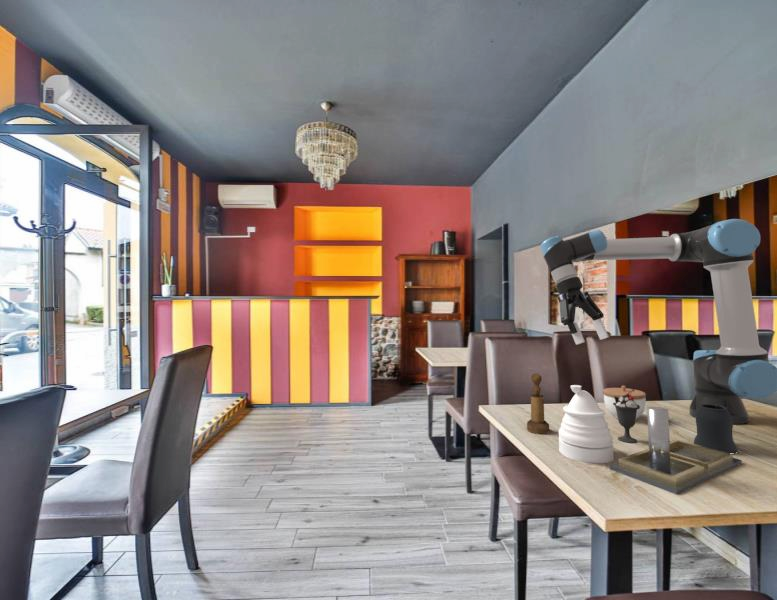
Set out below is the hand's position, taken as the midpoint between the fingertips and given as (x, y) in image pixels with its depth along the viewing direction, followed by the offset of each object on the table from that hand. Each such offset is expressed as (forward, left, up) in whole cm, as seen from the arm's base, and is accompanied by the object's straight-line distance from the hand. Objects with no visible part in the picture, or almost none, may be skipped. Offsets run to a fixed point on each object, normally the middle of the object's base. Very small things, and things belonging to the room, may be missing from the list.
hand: (592, 341), depth 117 cm
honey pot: (+20, +10, -28) cm, 36 cm away
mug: (-14, +25, -28) cm, 40 cm away
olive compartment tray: (+9, +26, -28) cm, 39 cm away
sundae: (+1, +10, -28) cm, 30 cm away
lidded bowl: (-20, -3, -28) cm, 35 cm away
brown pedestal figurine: (+16, -9, -28) cm, 34 cm away
